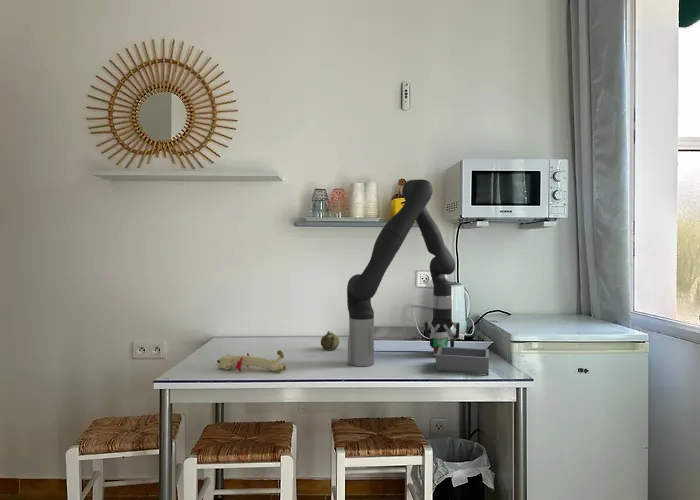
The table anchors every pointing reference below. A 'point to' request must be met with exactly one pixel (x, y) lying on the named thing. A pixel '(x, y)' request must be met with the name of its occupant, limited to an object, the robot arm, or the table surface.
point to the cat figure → (251, 362)
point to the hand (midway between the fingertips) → (442, 348)
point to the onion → (329, 341)
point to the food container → (439, 341)
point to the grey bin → (462, 360)
